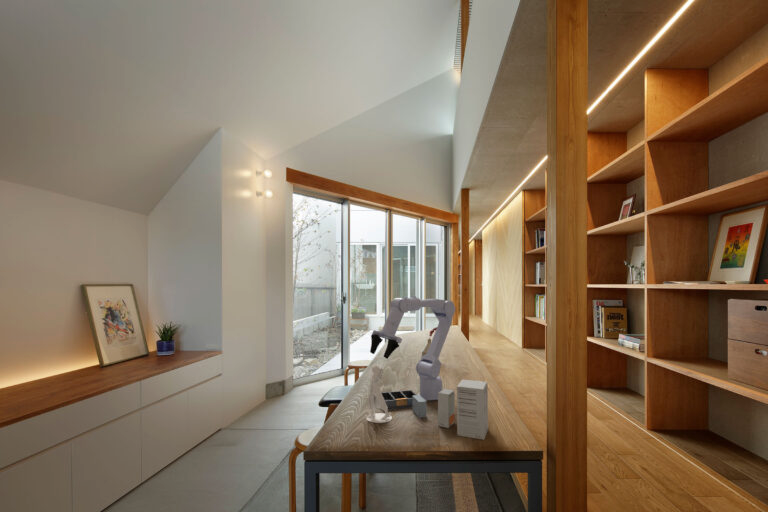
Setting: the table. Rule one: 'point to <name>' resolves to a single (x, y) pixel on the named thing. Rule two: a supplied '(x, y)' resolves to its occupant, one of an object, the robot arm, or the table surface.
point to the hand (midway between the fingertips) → (378, 355)
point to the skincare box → (446, 408)
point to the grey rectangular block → (419, 406)
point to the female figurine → (377, 398)
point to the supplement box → (472, 409)
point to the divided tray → (398, 399)
